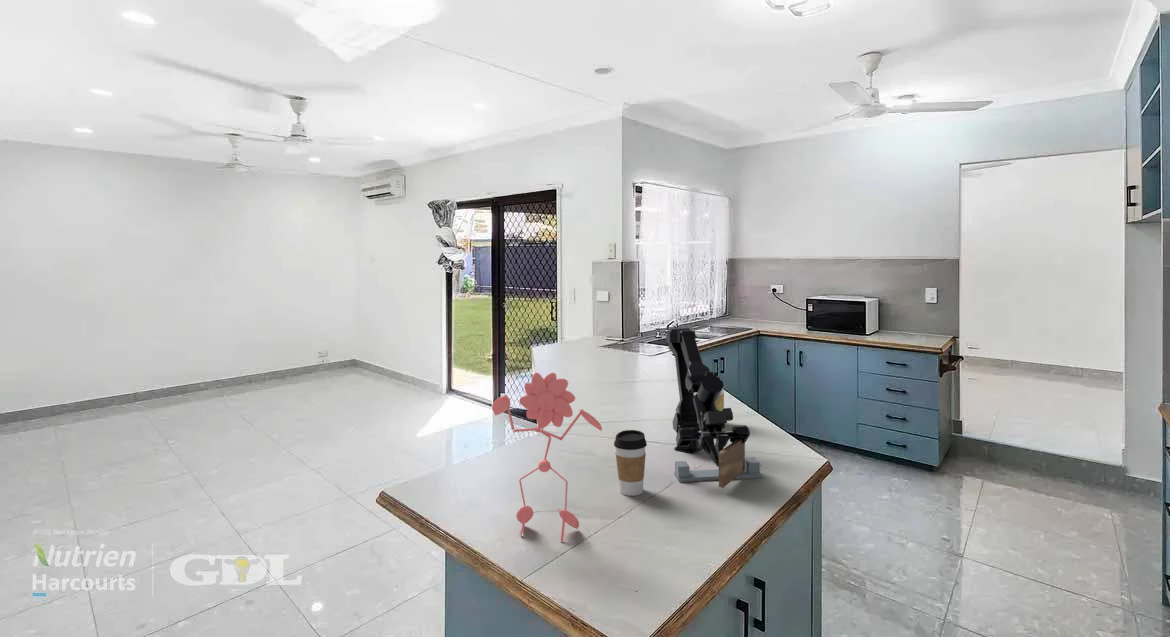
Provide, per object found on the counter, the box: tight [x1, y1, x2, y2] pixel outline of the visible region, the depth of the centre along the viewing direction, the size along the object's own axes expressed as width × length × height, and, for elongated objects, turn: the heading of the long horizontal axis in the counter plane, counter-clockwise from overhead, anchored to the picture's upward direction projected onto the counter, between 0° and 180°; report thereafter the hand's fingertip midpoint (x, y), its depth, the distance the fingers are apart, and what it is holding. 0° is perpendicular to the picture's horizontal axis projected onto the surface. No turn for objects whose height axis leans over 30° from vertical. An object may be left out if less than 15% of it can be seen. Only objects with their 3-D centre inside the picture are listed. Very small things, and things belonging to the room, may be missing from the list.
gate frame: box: [674, 457, 762, 483], centre depth 148 cm, size 5×23×4 cm, turn 94°
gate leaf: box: [718, 439, 746, 489], centre depth 143 cm, size 2×15×9 cm, turn 144°
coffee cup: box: [613, 429, 648, 497], centre depth 139 cm, size 8×8×15 cm
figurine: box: [491, 372, 603, 546], centre depth 121 cm, size 15×26×35 cm, turn 74°
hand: (719, 466), depth 139 cm, fingers closed
